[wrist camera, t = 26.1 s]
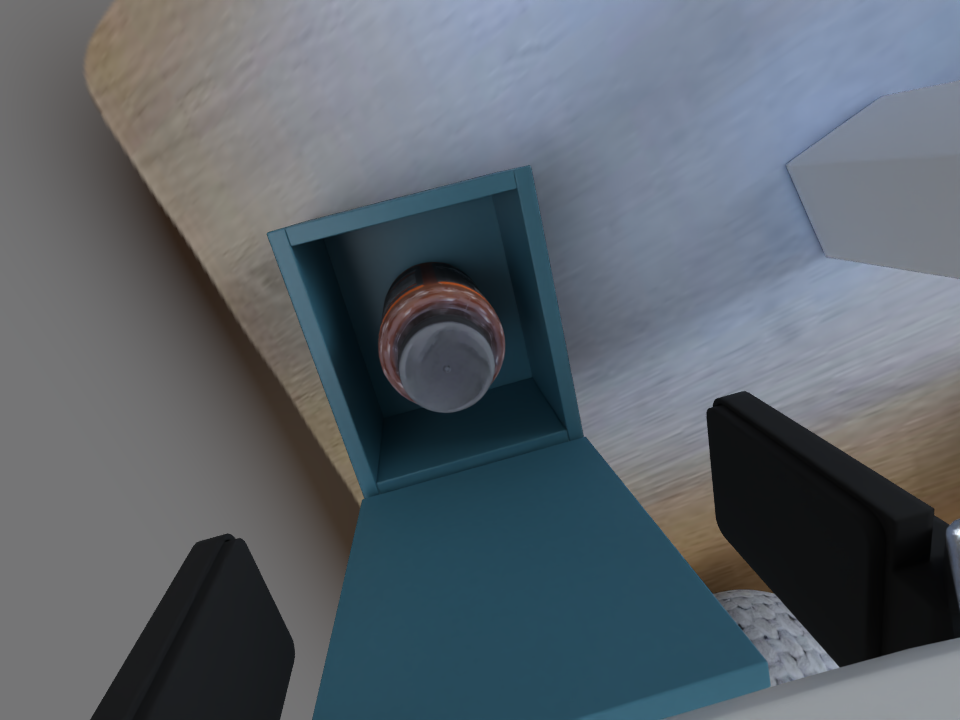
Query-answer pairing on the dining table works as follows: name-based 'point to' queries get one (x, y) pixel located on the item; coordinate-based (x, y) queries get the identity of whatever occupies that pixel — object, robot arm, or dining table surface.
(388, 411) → the case
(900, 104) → the milk carton
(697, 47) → the dining table surface
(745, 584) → the dining table surface
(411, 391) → the supplement bottle
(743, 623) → the decorative ball
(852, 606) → the robot arm
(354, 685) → the case lid
